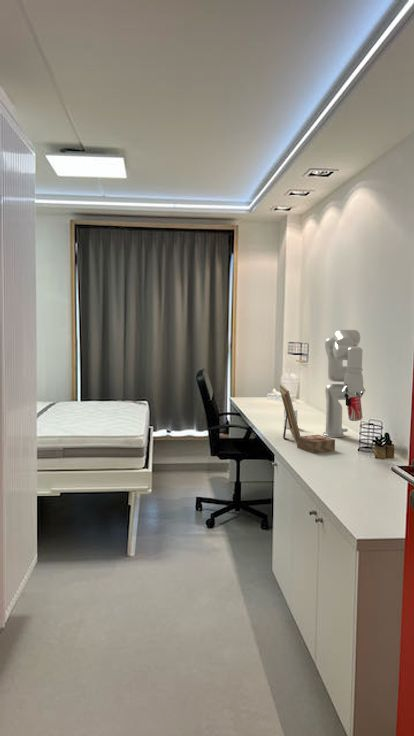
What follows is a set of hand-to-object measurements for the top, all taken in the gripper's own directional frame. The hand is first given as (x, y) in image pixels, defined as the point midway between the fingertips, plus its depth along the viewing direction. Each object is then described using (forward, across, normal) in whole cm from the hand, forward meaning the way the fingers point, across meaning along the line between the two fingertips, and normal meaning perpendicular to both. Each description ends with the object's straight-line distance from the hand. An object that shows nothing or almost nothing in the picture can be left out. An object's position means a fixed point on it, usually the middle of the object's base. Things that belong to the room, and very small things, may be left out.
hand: (352, 405), depth 278 cm
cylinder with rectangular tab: (+26, -10, -68) cm, 73 cm away
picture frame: (+25, +11, -40) cm, 48 cm away
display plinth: (+25, +14, -12) cm, 31 cm away
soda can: (+8, -2, 0) cm, 8 cm away
